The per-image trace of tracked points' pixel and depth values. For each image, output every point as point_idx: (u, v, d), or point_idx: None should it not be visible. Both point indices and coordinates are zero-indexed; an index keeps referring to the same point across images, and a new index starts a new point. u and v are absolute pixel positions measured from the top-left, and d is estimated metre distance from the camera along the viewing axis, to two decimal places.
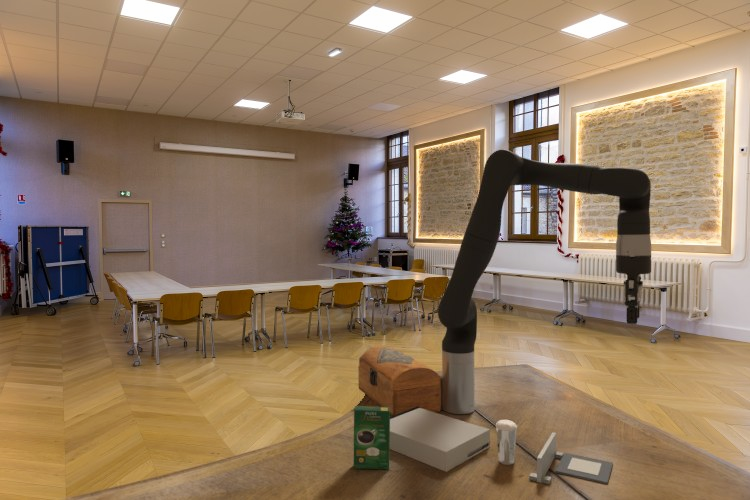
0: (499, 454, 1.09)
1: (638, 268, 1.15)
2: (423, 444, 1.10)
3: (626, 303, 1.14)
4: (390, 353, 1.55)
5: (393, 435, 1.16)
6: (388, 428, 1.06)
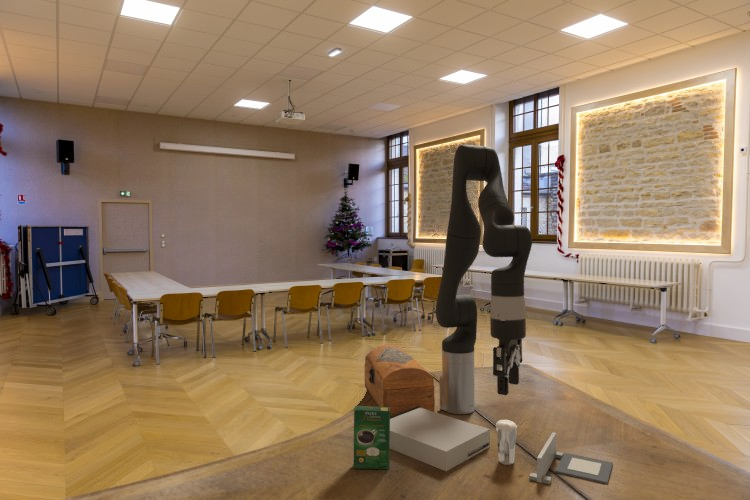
0: (499, 454, 1.09)
1: (509, 334, 1.05)
2: (423, 444, 1.10)
3: (494, 373, 1.03)
4: (391, 352, 1.56)
5: (393, 434, 1.16)
6: (388, 428, 1.06)
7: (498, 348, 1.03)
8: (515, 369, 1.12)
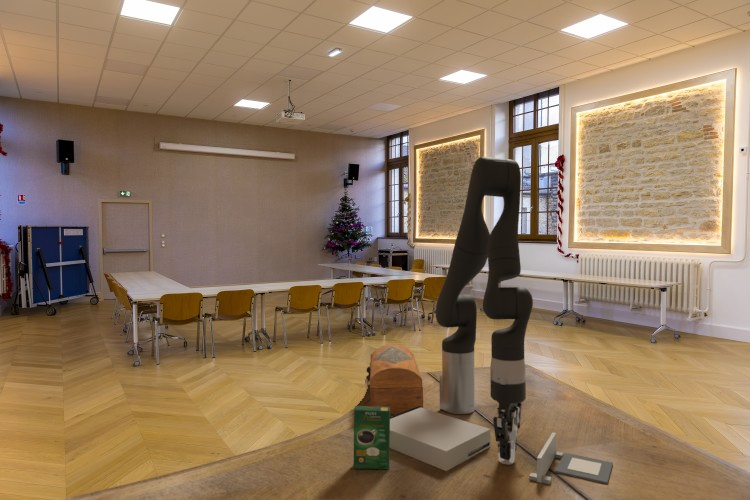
0: (499, 454, 1.09)
1: (509, 397, 1.05)
2: (424, 443, 1.10)
3: (497, 440, 1.05)
4: (390, 352, 1.57)
5: (393, 434, 1.17)
6: (388, 428, 1.06)
7: (498, 419, 1.04)
8: None
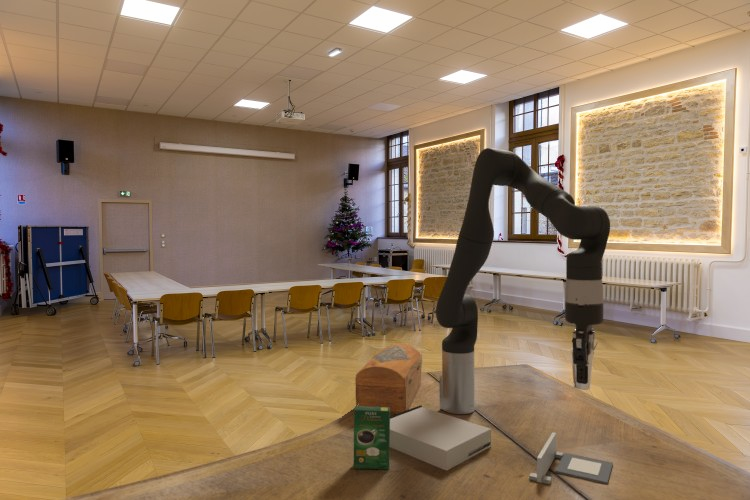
0: (575, 379, 1.05)
1: (587, 318, 1.02)
2: (424, 443, 1.10)
3: (575, 362, 1.02)
4: (390, 351, 1.58)
5: (394, 434, 1.17)
6: (388, 428, 1.06)
7: (578, 340, 1.00)
8: None
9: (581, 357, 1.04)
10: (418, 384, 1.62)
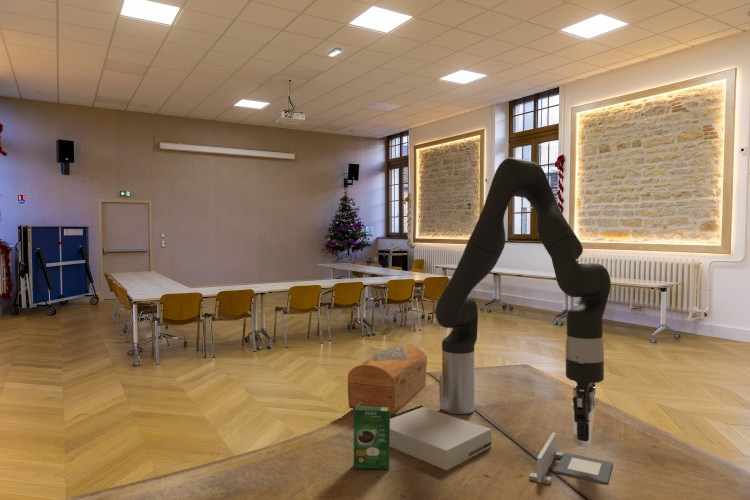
0: (575, 436, 1.06)
1: (588, 377, 1.02)
2: (424, 443, 1.10)
3: (576, 421, 1.02)
4: (390, 350, 1.59)
5: (394, 433, 1.17)
6: (388, 428, 1.06)
7: (578, 399, 1.00)
8: None
9: (582, 414, 1.04)
10: (420, 385, 1.61)
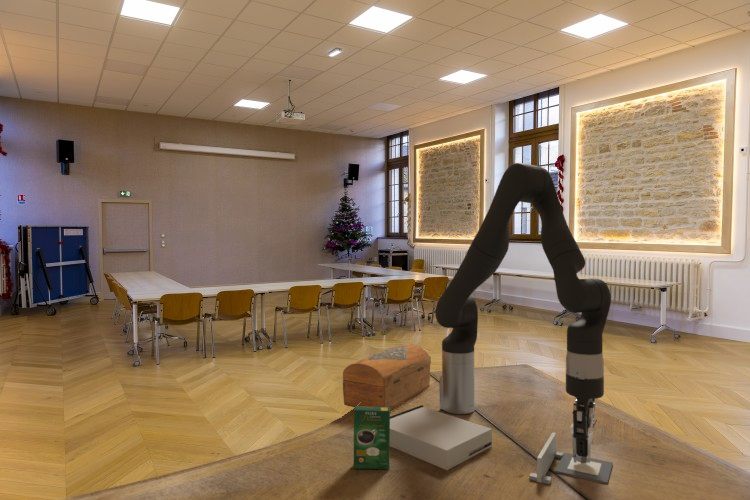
0: (575, 457, 1.06)
1: (588, 393, 1.02)
2: (425, 443, 1.10)
3: (574, 436, 1.01)
4: (391, 350, 1.59)
5: (395, 433, 1.17)
6: (388, 428, 1.06)
7: (578, 412, 1.00)
8: None
9: None
10: (421, 386, 1.60)
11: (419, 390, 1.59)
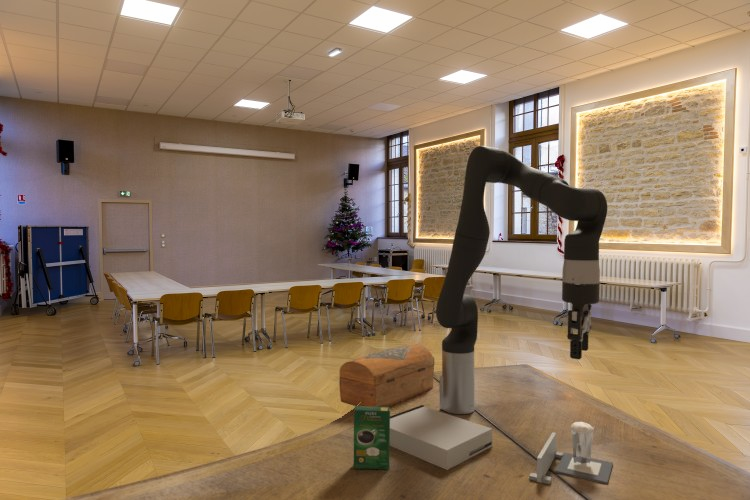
0: (575, 457, 1.06)
1: (584, 298, 1.04)
2: (425, 442, 1.11)
3: (569, 337, 1.02)
4: (392, 349, 1.60)
5: (395, 433, 1.17)
6: (388, 428, 1.06)
7: (573, 311, 1.02)
8: (585, 335, 1.11)
9: (581, 436, 1.04)
10: (422, 386, 1.59)
11: (420, 391, 1.58)
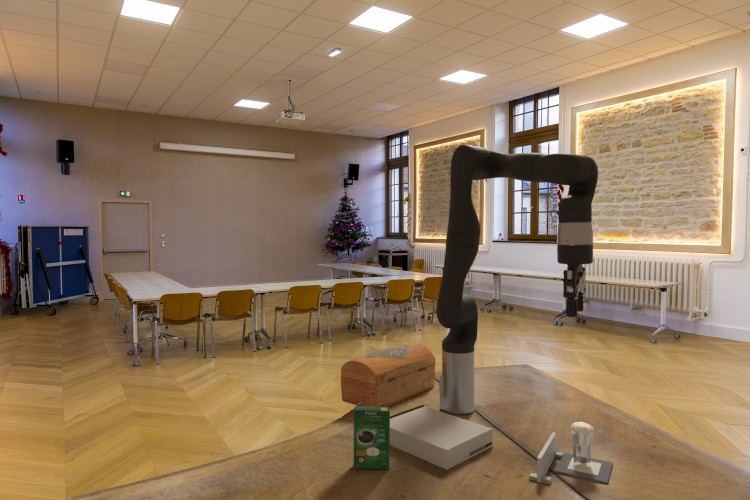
0: (575, 457, 1.06)
1: (578, 258, 1.09)
2: (425, 442, 1.11)
3: (564, 295, 1.07)
4: (393, 349, 1.60)
5: (396, 432, 1.18)
6: (388, 428, 1.06)
7: (569, 270, 1.07)
8: (580, 296, 1.16)
9: (581, 436, 1.04)
10: (423, 386, 1.60)
11: (421, 390, 1.59)
